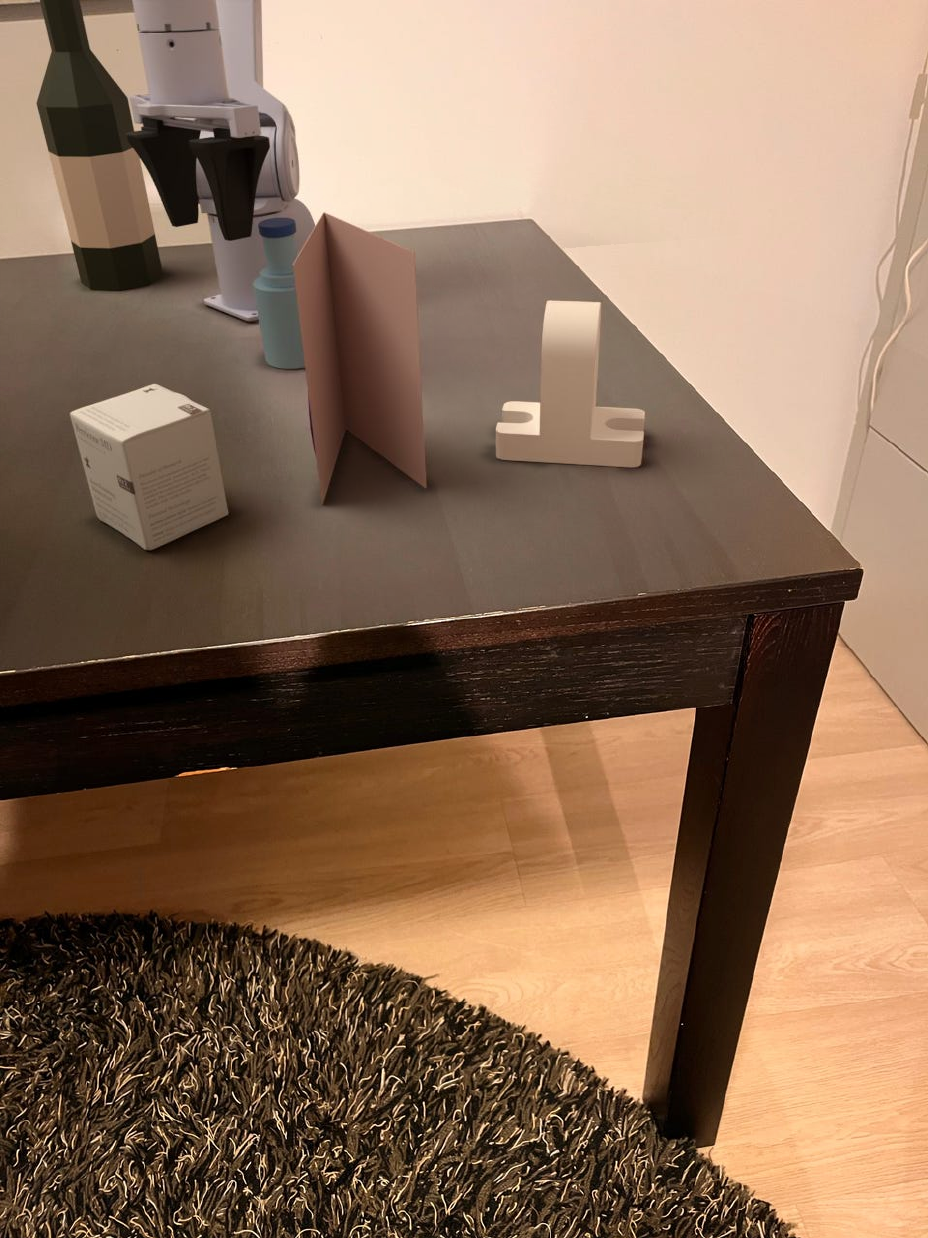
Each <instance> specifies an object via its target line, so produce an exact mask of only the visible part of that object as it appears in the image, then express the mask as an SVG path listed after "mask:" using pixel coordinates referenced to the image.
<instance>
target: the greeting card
mask: <svg viewBox="0 0 928 1238" xmlns="http://www.w3.org/2000/svg"><path fill="white" fill-rule="evenodd" d="M416 269H417V268H416V252H415V251H412V250H411V249H408V248H406V247H404V246H401V245H399V244H397V243H395V242H392V241H390V240H389V239H386V238H384V237H381V236H380V235H377V234H374V233H372V232H370V231H368V230H365V229H363V228H361V227H359V226H356V225H355V224H352V223H349V222H347V221H345V220H342V218H341V219H340V218H338V217H336V216H334V215H332V214H329V213H327V212H322V214H321V216H320V217H319V219H318V221H317V222H316V223H315V228H314V229H313V231H312V233H311V234H310V236H309V238H308V240H307V241H306V243H305V245H304V246H303V248H302V250H301V251H300V253H299V255H298V257H297V258H296V260H295V262H294V263H293V272H294V280H295V285H294V286H295V291H296V296H297V304H298V312H299V321H300V329H301V337H302V345H303V353H304V362H305V367H304V368H305V377H306V385H307V398H308V399H307V401H308V418H309V426H310V434H311V435H310V436H311V440H312V447H313V451H314V454H315V459H316V465H317V466H316V467H317V476H318V485H319V491H320V500H321V501H320V502H321V505H324V502H325V499H326V495H327V491H328V489H329V485H330V481H331V478H332V476H333V475H332V474H333V472H334V468H335V465H336V462H337V458H338V455H339V453H340V448H341V445H342V442H343V439H344V435H345V432H346V430H348V431H349V432H350V433H352V434H353V435H354V436H355V437H357V438H358V439H359V440H361V441H362V442H363V443H365V444H366V445H367V446H369V447H370V448H371V449H373V450H374V451H375V452H377V453H378V454H379V455H381V457H383V458H385V459H386V460H387V461H389V462H390V463H391V464H392V465H393V466H395V467H396V468H398V469H399V470H401V472H403V473H404V474H406V475H407V476H408V477H409V478H411V479H412V480H414V481H415V482H416V483H418V484H419V485H420V486H421V487H423V488H424V489H427V470H426V451H425V430H424V429H425V428H424V427H425V426H424V410H423V407H424V406H423V387H422V370H421V350H420V349H421V347H420V331H419V330H420V329H419V308H418V291H417V290H418V289H417V287H418V286H417V270H416Z"/></svg>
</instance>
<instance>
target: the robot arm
mask: <svg viewBox="0 0 928 1238" xmlns="http://www.w3.org/2000/svg"><path fill="white" fill-rule="evenodd" d="M131 2H132V7H133V13H134V18H135V23H136V29H137V34H138V40H139V46H140V51H141V57H142V62H143V63H142V64H143V68H144V69H143V70H144V75H145V80H146V86H147V91H148V93H144V94H135V95H129V99H130V100H129V102H130V107H131V112H132V117H133V122H134V124H137V125H138V124H139V125H142V126H141V127H140V129H141V130H134V131H133V132H128V133H127V134H126V135H127V140H128V142H129V144H130V145H131V146H132V147H133V149H134V150H135V151H136V153H137V154H138V156H139V157H140V161H141V162H142V163H143V165H144V167H145V169H146V170H147V172H148V174H149V176H150V178H151V180H152V182H153V185H154V187H155V189H156V191H157V194H158V196H159V198H160V201H161V203H162V205H163V208H164V211H165V213H166V216H167V218H168V220H169V222H170V224H171V226H172V227H175V228H179V227H184V226H190V225H194V224H198V223H199V212H200V213H201V214H206V216H207V222H208V229H209V234H210V240H211V245H212V251H213V257H214V263H215V269H216V275H217V282H218V286H219V292H220V294H216V295H213V296H212V295H211V296H209V297H206V298H204V299H203V304H204V305H205V306H209V307H211V308H213V309H215V310H218V311H220V312H224V313H226V314H228V315H230V316H233V317H236V318H238V319H240V320H243V321H245V322H255V321H259V318H258V312H257V306H256V300H255V294H254V288H253V282H254V280H255V279H257V278H258V277H260V271H261V270H262V269H264V268H266V267H267V266H266V260H265V253H264V247H263V241H262V236H261V235H260V234H259V228H258V223H259V222H261V221H263V220H266V219H271V218H291V219H294V220H295V223H296V233H295V238H296V245H297V252H298V255H299V253H300V251H301V250H302V248H303V246H304V245H305V243H306V241H307V240H308V238H309V236H310V234H311V233H312V231H313V229H314V228H315V226H316V223H315V221H314V217H313V215H312V213H311V211H310V210H309V208H308V207H307V206H306V204H304V203H303V202H302V201H301V200H300V199H297V198H296V197H297V196H298V194H299V191H300V182H301V181H300V179H301V177H300V161H299V153H298V146H297V141H296V140H297V138H296V135H297V134H296V127H295V124H294V120H293V117H292V115H291V113H290V111H289V110H288V109H289V108H288V107H287V106H286V105H285V104H284V103H283V102H282V101H281V100H279V99H278V98H277V97H275V95H273V94H272V93H270V92H269V91H268V90H267V89H265V88H264V55H263V53H264V52H263V13H262V12H263V11H262V10H263V9H262V5H263V4H262V0H131ZM199 208H200V209H199ZM199 210H200V211H199Z"/></svg>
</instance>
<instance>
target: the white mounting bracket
mask: <svg viewBox="0 0 928 1238" xmlns="http://www.w3.org/2000/svg"><path fill="white" fill-rule="evenodd" d="M601 323H602V302H601V301H576V300H575V301H574V300H573V301H572V300H547V301H546V303H545V309H544V316H543V324H542V325H543V326H542V338H541V354H540V355H541V358H540V393H539V394H540V395H539V398H540V399H539V402H536V401H535V402H534V401H518V400H517V401H516V400H515V401H513V400H511V401H506V402H504V403H503V406H502V409H501V422H499V421H497V422H496V426H495V457H496V459H498V460H502V461H515V462H516V461H517V462H530V463H531V462H532V463H533V462H534V463H548V464H549V463H550V464H568V465H581V466H583V465H584V466H600V467H617V468H619V467H621V468H638V467H640V466H641V465H642V458H643V447H644V437H645V436H644V435H645V431H644V429H645V427H644V426H645V417H646V413H645V411H644V410H643V409H640V408H632V407H631V408H629V407H612V406H611V407H610V406H596V403H597V390H598V389H597V388H598V375H599V374H598V371H599V359H600V358H599V357H600V356H599V355H600V342H601V341H600V339H601Z"/></svg>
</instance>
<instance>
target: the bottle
mask: <svg viewBox="0 0 928 1238" xmlns="http://www.w3.org/2000/svg"><path fill="white" fill-rule="evenodd" d="M258 228H259V234H260V235H261V236H262V241H263V247H264V253H265V260H266V266H267V267H266V268H264V269H262V270H261V271H260V277H258V278H257V279H255V280H254V282H253V288H254V294H255V300H256V306H257V312H258V318H259V319H258V324H259V329H260V334H261V335H260V336H261V340H262V347H263V353H264V360H265V362H266V363H267V364H268V365H269V366H271V367H273V368H276V369H282V370H297V369H304V368H305V362H304V353H303V345H302V337H301V329H300V321H299V312H298V304H297V296H296V291H295V286H294V285H295V280H294V272H293V263H294V262H295V260H296V258H297V257H298V252H297V245H296V238H295V233H296V223H295V220H294V219H291V218H271V219H266V220H263V221H261V222H259V223H258Z"/></svg>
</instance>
